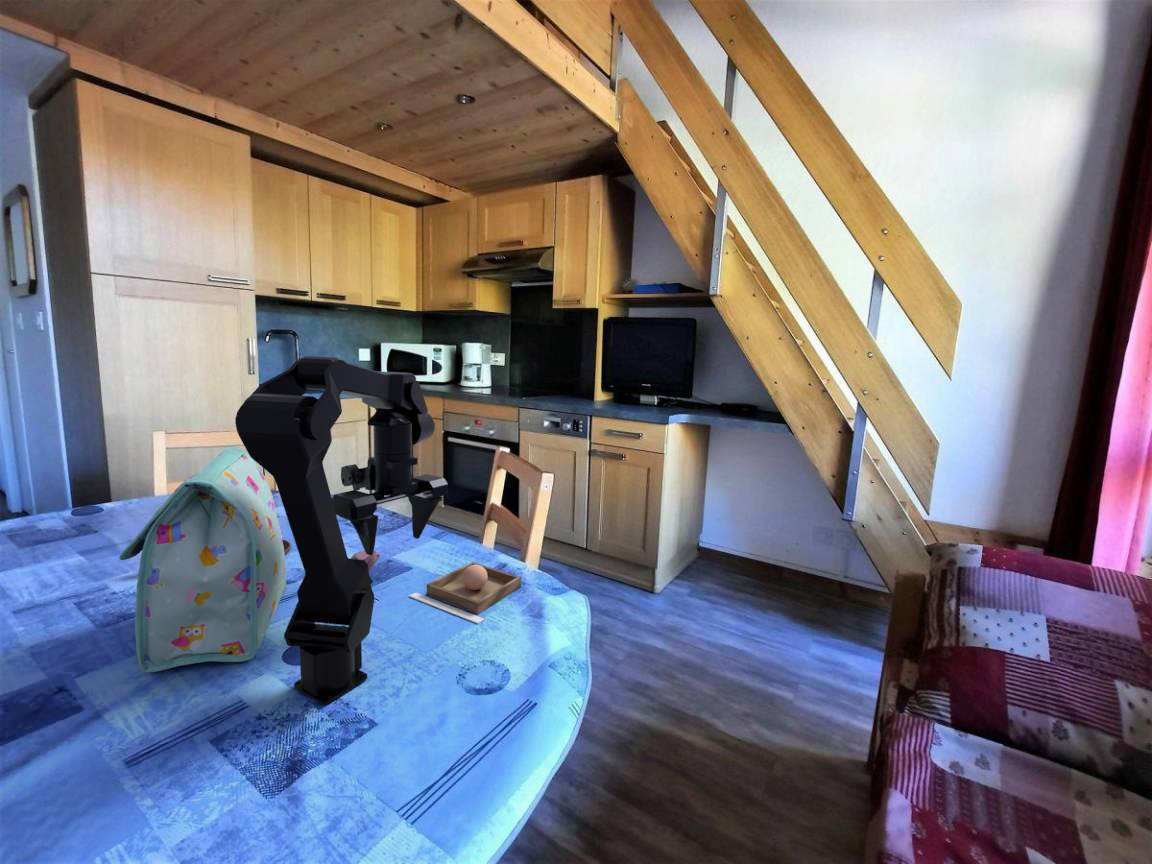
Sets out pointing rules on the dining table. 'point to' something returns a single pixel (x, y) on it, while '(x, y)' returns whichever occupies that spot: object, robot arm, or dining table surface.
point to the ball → (475, 577)
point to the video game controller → (367, 558)
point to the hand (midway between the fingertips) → (394, 545)
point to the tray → (474, 600)
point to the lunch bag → (209, 568)
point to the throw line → (447, 608)
